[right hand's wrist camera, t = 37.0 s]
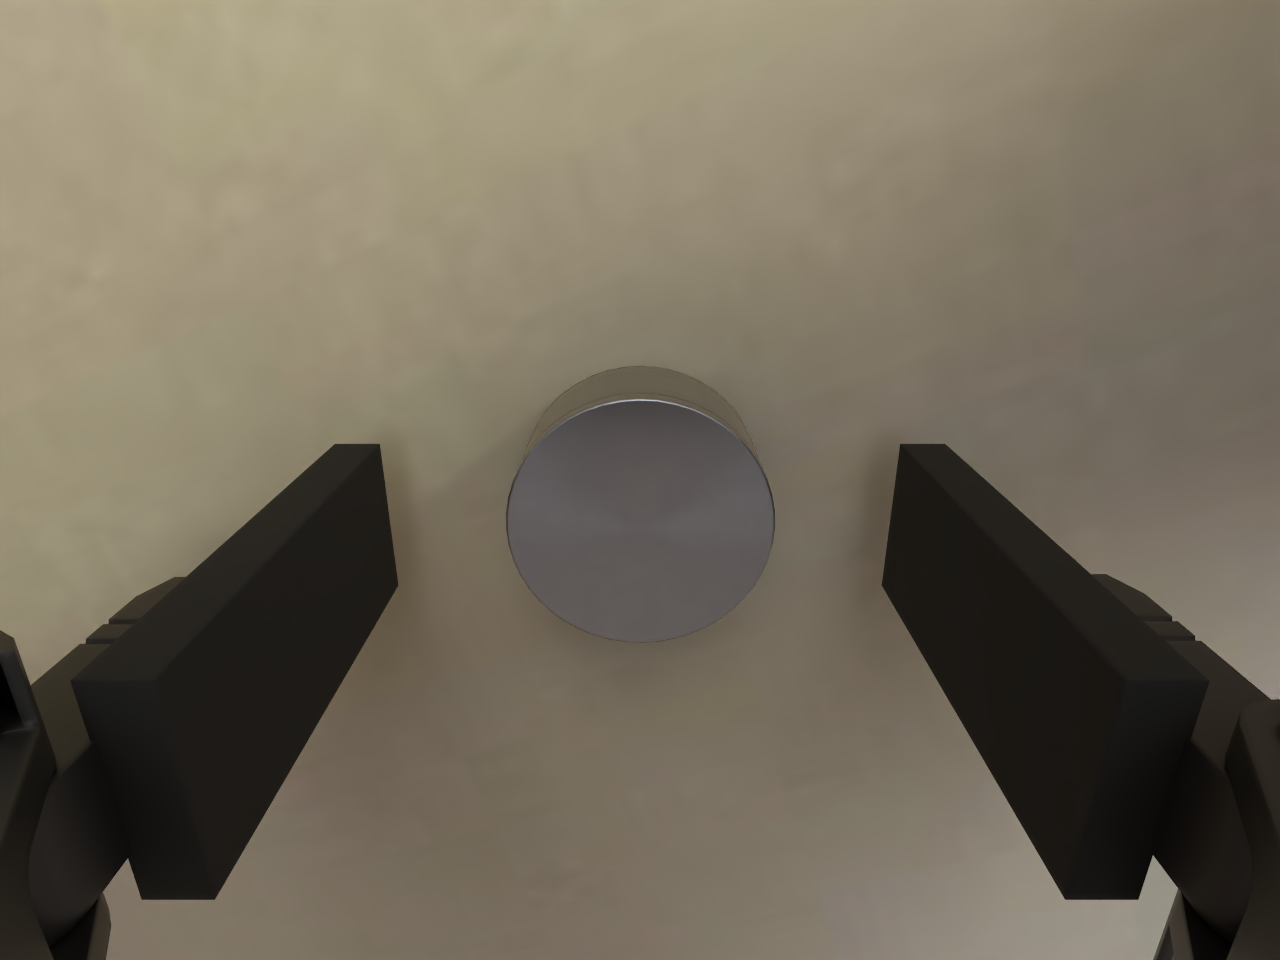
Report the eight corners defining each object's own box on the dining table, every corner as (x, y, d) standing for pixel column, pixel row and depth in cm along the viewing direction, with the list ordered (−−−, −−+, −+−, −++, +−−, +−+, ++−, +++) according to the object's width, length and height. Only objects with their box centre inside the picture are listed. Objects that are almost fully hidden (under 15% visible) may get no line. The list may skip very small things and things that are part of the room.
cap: (751, 580, 16) (768, 642, 14) (532, 582, 16) (515, 644, 14) (761, 363, 14) (783, 397, 12) (516, 366, 14) (494, 400, 12)
